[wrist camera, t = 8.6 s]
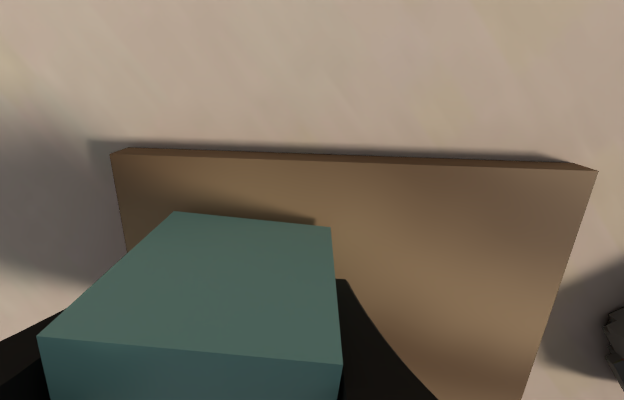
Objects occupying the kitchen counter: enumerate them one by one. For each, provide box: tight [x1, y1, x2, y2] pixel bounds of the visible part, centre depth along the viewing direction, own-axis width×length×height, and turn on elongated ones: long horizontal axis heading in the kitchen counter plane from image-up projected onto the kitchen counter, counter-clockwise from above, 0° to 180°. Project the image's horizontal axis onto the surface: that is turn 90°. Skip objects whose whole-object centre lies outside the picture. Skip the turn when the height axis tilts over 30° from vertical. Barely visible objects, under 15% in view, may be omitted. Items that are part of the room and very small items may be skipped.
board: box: [110, 147, 598, 400], centre depth 11 cm, size 14×14×4 cm
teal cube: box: [36, 211, 343, 400], centre depth 8 cm, size 5×5×5 cm
